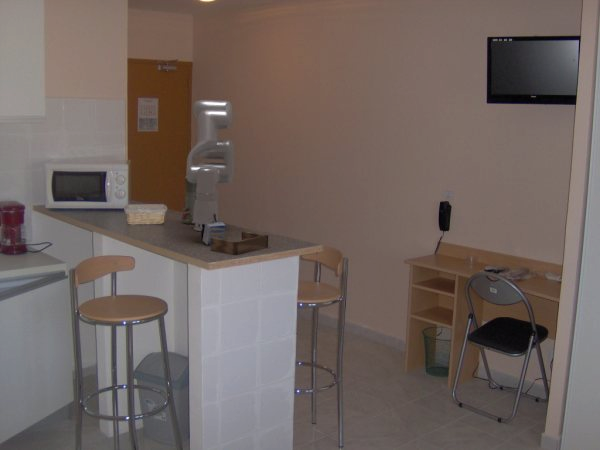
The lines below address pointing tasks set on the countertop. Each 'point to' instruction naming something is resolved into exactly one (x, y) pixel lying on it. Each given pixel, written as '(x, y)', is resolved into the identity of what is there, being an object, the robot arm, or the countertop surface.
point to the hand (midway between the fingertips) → (205, 239)
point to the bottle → (189, 202)
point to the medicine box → (213, 231)
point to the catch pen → (240, 243)
